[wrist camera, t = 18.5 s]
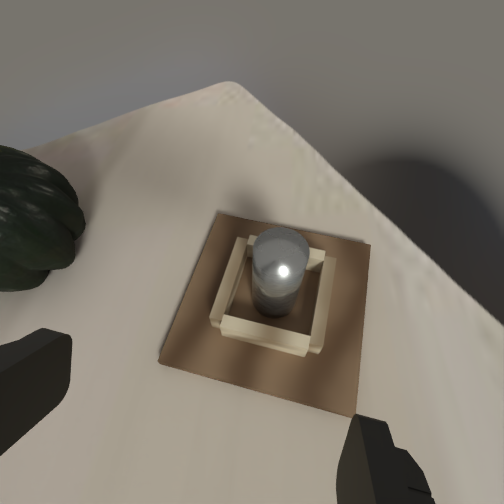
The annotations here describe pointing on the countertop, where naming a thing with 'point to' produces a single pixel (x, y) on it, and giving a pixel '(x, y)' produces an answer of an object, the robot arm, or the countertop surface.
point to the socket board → (275, 321)
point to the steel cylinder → (278, 270)
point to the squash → (34, 221)
